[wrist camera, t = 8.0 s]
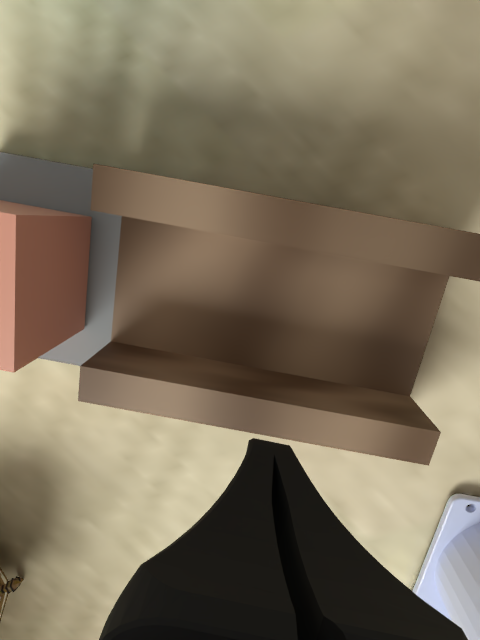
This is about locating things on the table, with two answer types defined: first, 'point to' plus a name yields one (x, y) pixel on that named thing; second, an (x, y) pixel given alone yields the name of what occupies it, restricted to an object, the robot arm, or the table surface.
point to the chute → (272, 314)
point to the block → (40, 280)
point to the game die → (7, 588)
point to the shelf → (75, 197)
